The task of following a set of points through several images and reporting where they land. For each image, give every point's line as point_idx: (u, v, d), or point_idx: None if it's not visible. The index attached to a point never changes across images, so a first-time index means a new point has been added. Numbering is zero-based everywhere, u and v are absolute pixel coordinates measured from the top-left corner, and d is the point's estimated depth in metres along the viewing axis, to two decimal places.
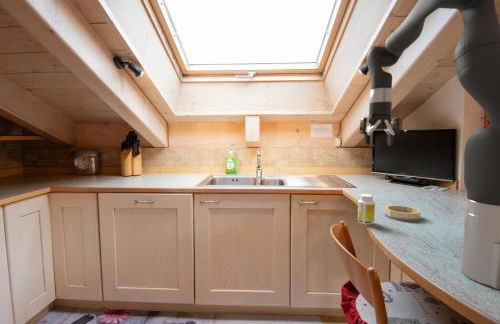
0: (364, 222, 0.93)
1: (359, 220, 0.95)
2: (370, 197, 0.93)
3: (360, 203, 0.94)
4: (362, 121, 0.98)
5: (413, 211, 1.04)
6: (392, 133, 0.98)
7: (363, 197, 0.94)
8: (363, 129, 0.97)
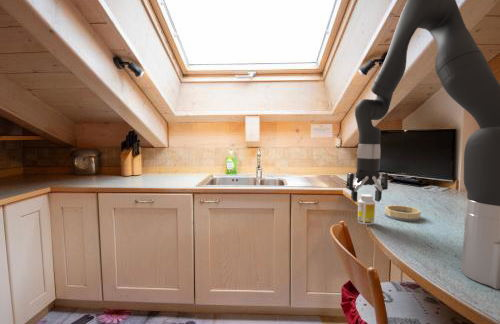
0: (364, 222, 0.93)
1: (359, 220, 0.95)
2: (370, 197, 0.93)
3: (360, 203, 0.94)
4: (349, 177, 0.93)
5: (413, 211, 1.04)
6: (380, 189, 0.94)
7: (363, 197, 0.94)
8: (350, 185, 0.93)
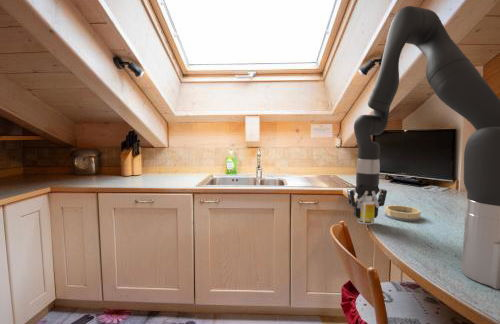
0: (364, 222, 0.93)
1: (359, 220, 0.95)
2: (370, 197, 0.93)
3: None
4: (349, 194, 0.94)
5: (413, 211, 1.04)
6: (376, 206, 0.94)
7: None
8: (352, 202, 0.93)
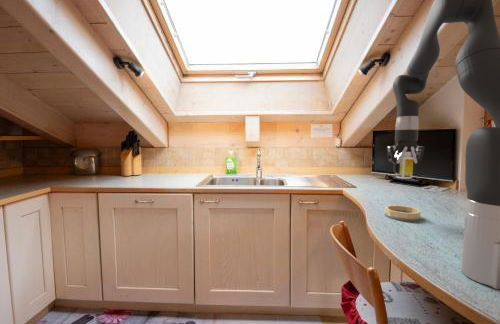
0: (403, 176, 0.99)
1: (398, 175, 1.01)
2: (409, 152, 0.99)
3: None
4: (389, 150, 1.00)
5: (413, 211, 1.04)
6: (415, 161, 1.00)
7: None
8: (392, 158, 0.99)
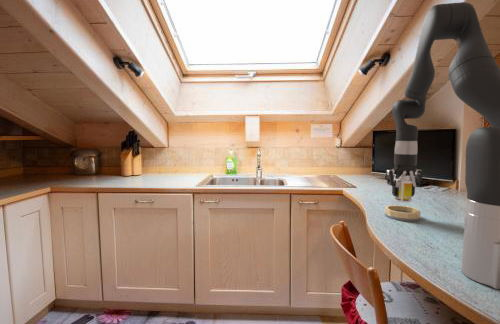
0: (402, 200, 1.00)
1: (397, 198, 1.02)
2: (408, 176, 1.00)
3: None
4: (388, 174, 1.01)
5: (413, 211, 1.04)
6: (414, 185, 1.01)
7: None
8: (391, 181, 1.00)
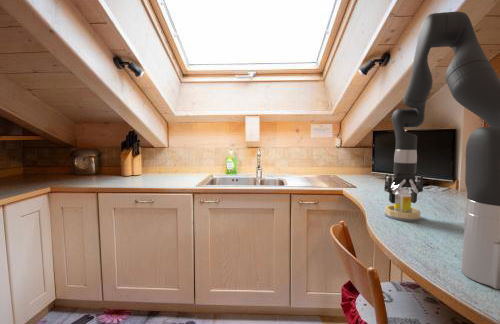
0: None
1: None
2: (407, 190, 1.00)
3: (397, 196, 1.01)
4: (387, 180, 1.01)
5: (413, 211, 1.04)
6: (416, 191, 1.01)
7: (400, 190, 1.01)
8: (388, 188, 1.00)
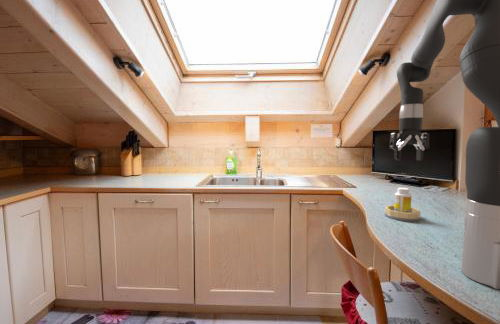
0: None
1: None
2: (407, 190, 1.00)
3: (397, 195, 1.01)
4: (392, 136, 0.98)
5: (413, 211, 1.04)
6: (422, 148, 0.99)
7: (400, 190, 1.01)
8: (394, 144, 0.98)
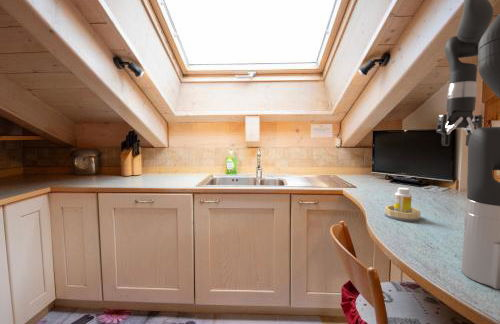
0: None
1: None
2: (407, 190, 1.00)
3: (397, 195, 1.01)
4: (441, 119, 0.87)
5: (413, 211, 1.04)
6: None
7: (400, 190, 1.01)
8: (442, 128, 0.87)
